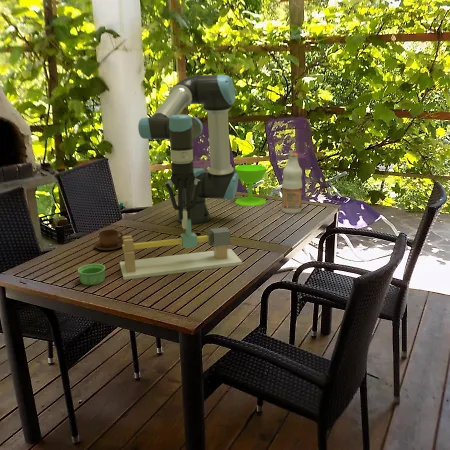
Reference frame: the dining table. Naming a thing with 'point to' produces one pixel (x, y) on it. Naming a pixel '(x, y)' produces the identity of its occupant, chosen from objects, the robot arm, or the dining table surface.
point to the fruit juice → (292, 186)
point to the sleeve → (189, 237)
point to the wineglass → (250, 183)
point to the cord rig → (178, 256)
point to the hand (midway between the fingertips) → (184, 227)
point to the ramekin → (92, 274)
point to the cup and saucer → (109, 240)
